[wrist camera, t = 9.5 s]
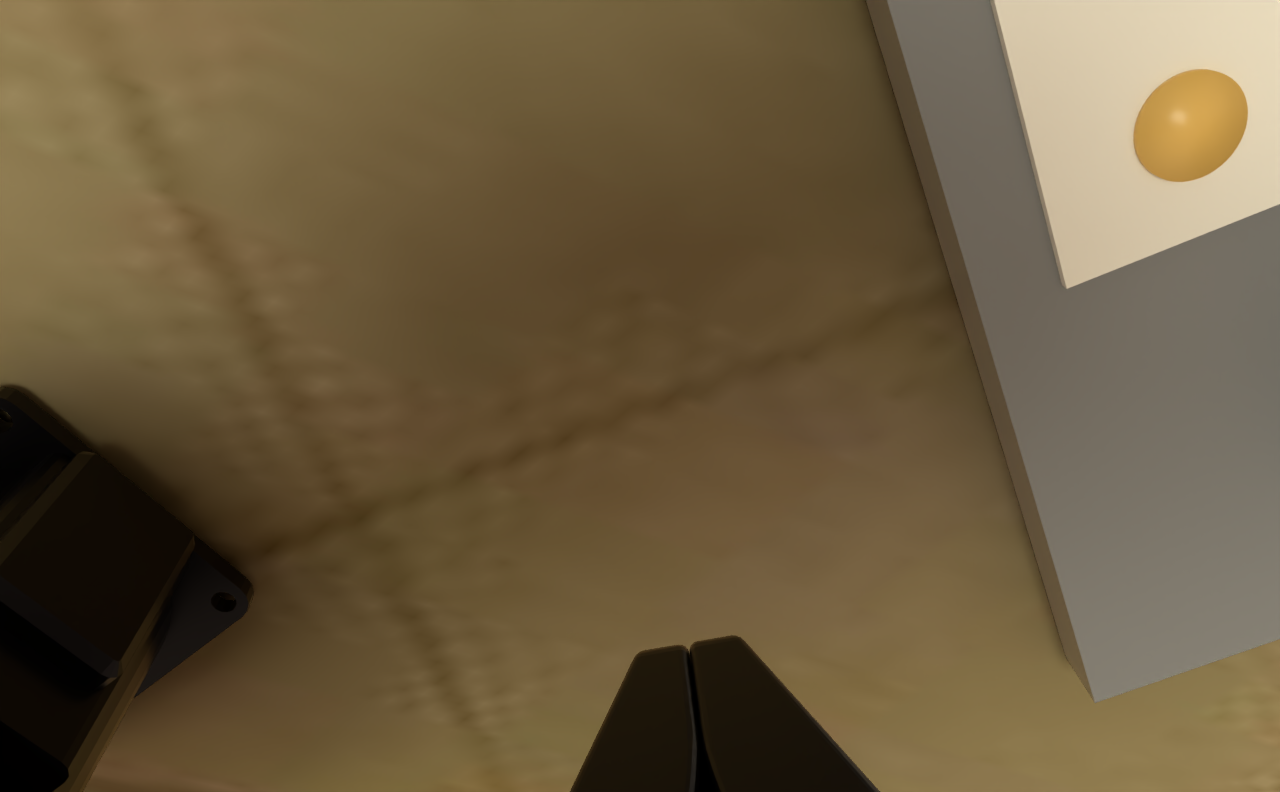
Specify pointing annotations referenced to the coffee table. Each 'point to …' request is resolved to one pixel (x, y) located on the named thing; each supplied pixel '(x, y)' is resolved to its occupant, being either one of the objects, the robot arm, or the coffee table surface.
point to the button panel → (1117, 299)
